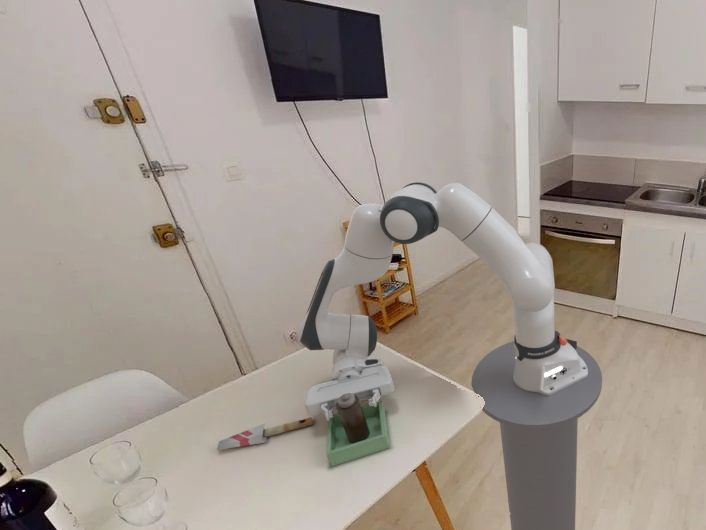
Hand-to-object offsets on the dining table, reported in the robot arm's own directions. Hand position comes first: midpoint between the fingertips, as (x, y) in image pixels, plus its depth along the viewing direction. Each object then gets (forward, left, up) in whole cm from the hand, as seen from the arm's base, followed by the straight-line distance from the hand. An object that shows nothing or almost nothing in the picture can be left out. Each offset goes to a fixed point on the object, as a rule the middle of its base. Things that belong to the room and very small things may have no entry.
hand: (351, 411), depth 96 cm
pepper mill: (0, 0, -8) cm, 8 cm away
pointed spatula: (+21, -10, -9) cm, 25 cm away
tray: (0, 0, -8) cm, 8 cm away
